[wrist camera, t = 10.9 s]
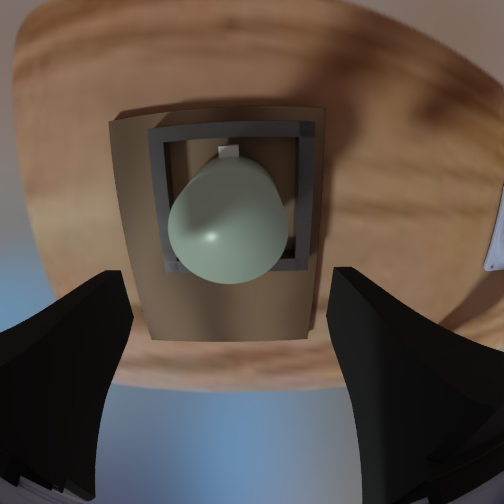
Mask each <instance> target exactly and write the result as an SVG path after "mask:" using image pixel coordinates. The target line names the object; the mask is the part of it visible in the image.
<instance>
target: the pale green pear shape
mask: <svg viewBox="0 0 504 504" xmlns="http://www.w3.org/2000/svg"><path fill="white" fill-rule="evenodd" d="M218 151H219V156H218V157H216V158H214V159H212V160H210V161H208V162H207V163H206V164H204V165H203V166H202V167H201V168H200V169H199V171H198V172H197V173H196V174H195V176H194V177H193V178H192V179H191V181H190V182H189V183H188V184H187V186H186V187H185V188H184V189H183V191H182V192H181V193H180V195H179V196H178V197H177V199H176V200H175V202H174V204H173V206H172V208H171V211H170V215H169V220H168V234H169V239H170V243H171V246H172V248H173V251H174V252H175V254H176V256H177V257H178V259H179V260H180V261H181V263H182V264H183V265H184V266H185V267H186V268H187V269H189V270H190V271H191V272H193V273H194V274H196V275H197V276H199V277H201V278H203V279H206V280H208V281H212V282H216V283H222V284H237V283H243V282H247V281H250V280H253V279H255V278H257V277H259V276H261V275H263V274H264V273H266V272H267V271H268V270H270V269H271V268H272V267H273V266H274V265H275V264H276V263H277V261H278V260H279V258H280V257H281V255H282V253H283V251H284V249H285V246H286V243H287V239H288V220H287V216H286V213H285V210H284V207H283V204H282V202H281V199H280V196H279V194H278V191H277V188H276V186H275V183H274V180H273V178H272V176H271V174H270V173H269V172H268V170H267V169H266V168H265V167H264V166H263V165H262V164H261V163H259V162H258V161H256V160H255V159H253V158H250V157H248V156H244V155H239V144H231V145H219V146H218Z"/></svg>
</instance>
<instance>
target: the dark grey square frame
mask: <svg viewBox="0 0 504 504" xmlns="http://www.w3.org/2000/svg"><path fill="white" fill-rule="evenodd" d="M147 132H148V144H149V156H150V166H151V175H152V184H153V192H154V200H155V208H156V215H157V222H158V228H159V235H160V241H161V247H162V253H163V259H164V264H165V270H166V273H193V272H191V271H190V270H189V269H187V268H186V267H185V266H184V265H183V264H182V263H181V261H180V260H179V259H178V257H177V256H176V254H175V252H174V251H173V248H172V246H171V243H170V239H169V234H168V220H169V215H170V211H171V208H172V206H173V204H174V202H175V200H174V191H173V181H172V170H171V158H170V146H169V142H172V141H183V140H195V139H210V138H229V137H295V190H294V221H293V245H292V249H284V251H283V253H282V255H281V257H280V258H279V260H278V261H277V263H276V264H275V265H274V266H273V267H272V268H271V269H270V270H268V271H300V270H308V262H309V250H310V236H311V221H312V204H313V183H314V155H315V122H311V121H283V120H254V121H224V122H207V123H194V124H183V125H173V126H164V127H156V128H150V129H147Z"/></svg>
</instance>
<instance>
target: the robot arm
mask: <svg viewBox="0 0 504 504" xmlns="http://www.w3.org/2000/svg"><path fill="white" fill-rule="evenodd" d="M484 269H485V270H486V271H495V270H504V187H503V192H502V198H501V203H500V207H499V212H498V216H497V221H496V225H495V229H494V232H493V236H492V240H491V243H490V247H489V250H488V253H487V257H486V260H485V263H484ZM133 318H134V316H133V312H132V309H131V306H130V302H129V299H128V295H127V292H126V288H125V285H124V281H123V277H122V273H121V270H106V271H104V272H101V273H100V274H98V275H96V276H94V277H93V278H91V279H89V280H88V281H86V282H85V283H83V284H82V285H80V286H79V287H77V288H76V289H74V290H73V291H71V292H70V293H68V294H67V295H65V296H64V297H62V298H61V299H59V300H57V301H56V302H54V303H53V304H51V305H50V306H48V307H47V308H45V309H43V310H42V311H40V312H39V313H37V314H35V315H34V316H32V317H30V318H29V319H27V320H25V321H23V322H21V323H19V324H17V325H16V326H14V327H12V328H9V329H7V330H5V331H3V332H1V333H0V504H82V503H79V502H77V501H74V500H71V499H69V498H66V497H64V496H62V495H59V494H57V493H55V492H53V491H51V490H52V489H53V490H55V491H58V492H60V493H63V492H64V493H66V494H68V495H71V496H74V497H76V498H79V499H81V500H84V501H91V500H93V499H94V498H95V462H96V449H97V441H98V434H99V428H100V421H101V417H102V412H103V408H104V403H105V399H106V396H107V393H108V389H109V387H110V384H111V382H112V379H113V376H114V374H115V371H116V369H117V366H118V364H119V361H120V359H121V356H122V354H123V351H124V349H125V346H126V344H127V341H128V338H129V334H130V331H131V326H132V322H133ZM326 318H327V323H328V328H329V333H330V337H331V341H332V344H333V347H334V350H335V353H336V356H337V359H338V362H339V365H340V368H341V371H342V374H343V377H344V380H345V383H346V386H347V389H348V392H349V395H350V399H351V403H352V407H353V412H354V418H355V424H356V429H357V437H358V444H359V451H360V461H361V473H362V496H363V497H362V498H363V501H362V504H504V352H502V351H499V350H496V349H493V348H490V347H487V346H484V345H481V344H479V343H476V342H474V341H471V340H469V339H467V338H464V337H462V336H460V335H458V334H455V333H453V332H451V331H449V330H447V329H445V328H443V327H442V326H440V325H438V324H436V323H434V322H432V321H431V320H429V319H427V318H425V317H424V316H422V315H420V314H419V313H417V312H416V311H414V310H413V309H411V308H410V307H408V306H406V305H405V304H403V303H402V302H401V301H399V300H398V299H396V298H395V297H393V296H392V295H391V294H389V293H388V292H386V291H385V290H384V289H382V288H381V287H380V286H378V285H377V284H375V283H374V282H373V281H371V280H370V279H369V278H367V277H366V276H364V275H363V274H362V273H360V272H359V271H357V270H356V269H354V268H352V267H334V269H333V276H332V283H331V289H330V296H329V302H328V308H327V314H326Z"/></svg>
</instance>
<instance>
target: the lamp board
mask: <svg viewBox="0 0 504 504" xmlns="http://www.w3.org/2000/svg"><path fill="white" fill-rule="evenodd" d="M254 120H283V121H311V122H315V155H314V183H313V204H312V221H311V236H310V250H309V262H308V270H300V271H267V272H266V273H264V274H263V275H261V276H259V277H257V278H255V279H253V280H250V281H247V282H243V283H237V284H222V283H216V282H212V281H208V280H206V279H203V278H201V277H199V276H197V275H196V274H194V273H166V270H165V264H164V259H163V253H162V247H161V241H160V235H159V228H158V222H157V215H156V208H155V200H154V192H153V184H152V175H151V166H150V156H149V144H148V132H147V129H150V128H156V127H164V126H173V125H183V124H194V123H207V122H224V121H254ZM324 127H325V108H317V107H297V106H236V107H216V108H201V109H190V110H180V111H171V112H163V113H155V114H148V115H142V116H136V117H130V118H124V119H119V120H113V121H109V132H110V143H111V152H112V161H113V169H114V177H115V184H116V190H117V197H118V203H119V209H120V214H121V220H122V225H123V230H124V235H125V240H126V245H127V250H128V254H129V259H130V263H131V267H132V271H133V275H134V279H135V283H136V287H137V291H138V295H139V298H140V302H141V306H142V309H143V313H144V316H145V320H146V323H147V326H148V329H149V333H150V336H151V339H152V340H166V341H201V342H241V341H276V340H296V339H307V338H308V331H309V324H310V316H311V308H312V300H313V292H314V283H315V273H316V263H317V253H318V241H319V229H320V216H321V201H322V184H323V162H324ZM231 144H239V155H244V156H248V157H250V158H253V159H255V160H256V161H258V162H259V163H261V164H262V165H263V166H264V167H265V168H266V169H267V170H268V172H269V173H270V174H271V176H272V178H273V180H274V183H275V186H276V188H277V191H278V194H279V196H280V199H281V202H282V204H283V207H284V210H285V213H286V216H287V220H288V239H287V243H286V246H285V249H292V245H293V221H294V190H295V137H229V138H210V139H195V140H183V141H172V142H169V146H170V158H171V170H172V181H173V191H174V200H176V199H177V197H178V196H179V195H180V193H181V192H182V191H183V189H184V188H185V187H186V186H187V184H188V183H189V182H190V181H191V179H192V178H193V177H194V176H195V174H196V173H197V172H198V171H199V169H200V168H201V167H202V166H203V165H204V164H206V163H207V162H208V161H210V160H212V159H214V158H216V157H218V156H219V151H218V146H219V145H231Z"/></svg>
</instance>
